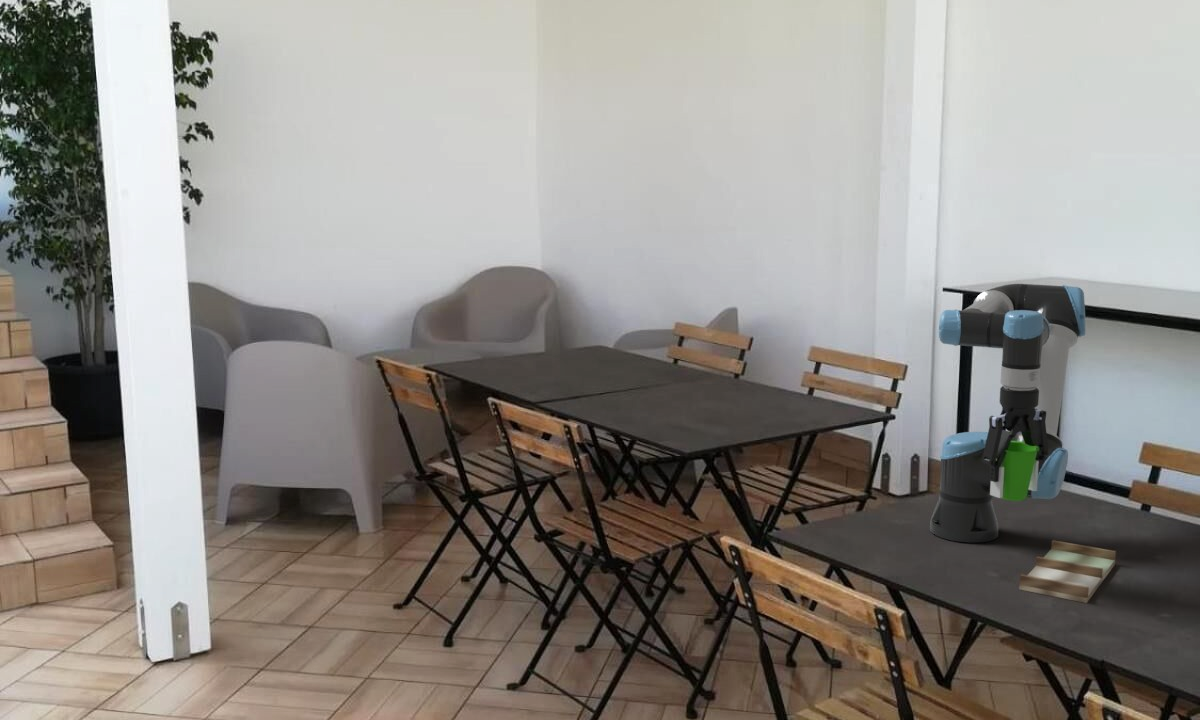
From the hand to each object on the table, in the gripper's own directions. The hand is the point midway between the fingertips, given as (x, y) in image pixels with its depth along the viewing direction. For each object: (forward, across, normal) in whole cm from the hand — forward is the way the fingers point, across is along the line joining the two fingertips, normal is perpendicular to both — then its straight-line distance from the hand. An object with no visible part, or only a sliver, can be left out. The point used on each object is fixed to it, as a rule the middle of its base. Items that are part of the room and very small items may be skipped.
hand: (1013, 492), depth 250 cm
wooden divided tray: (+17, +9, -8) cm, 21 cm away
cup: (+1, 0, 0) cm, 1 cm away
